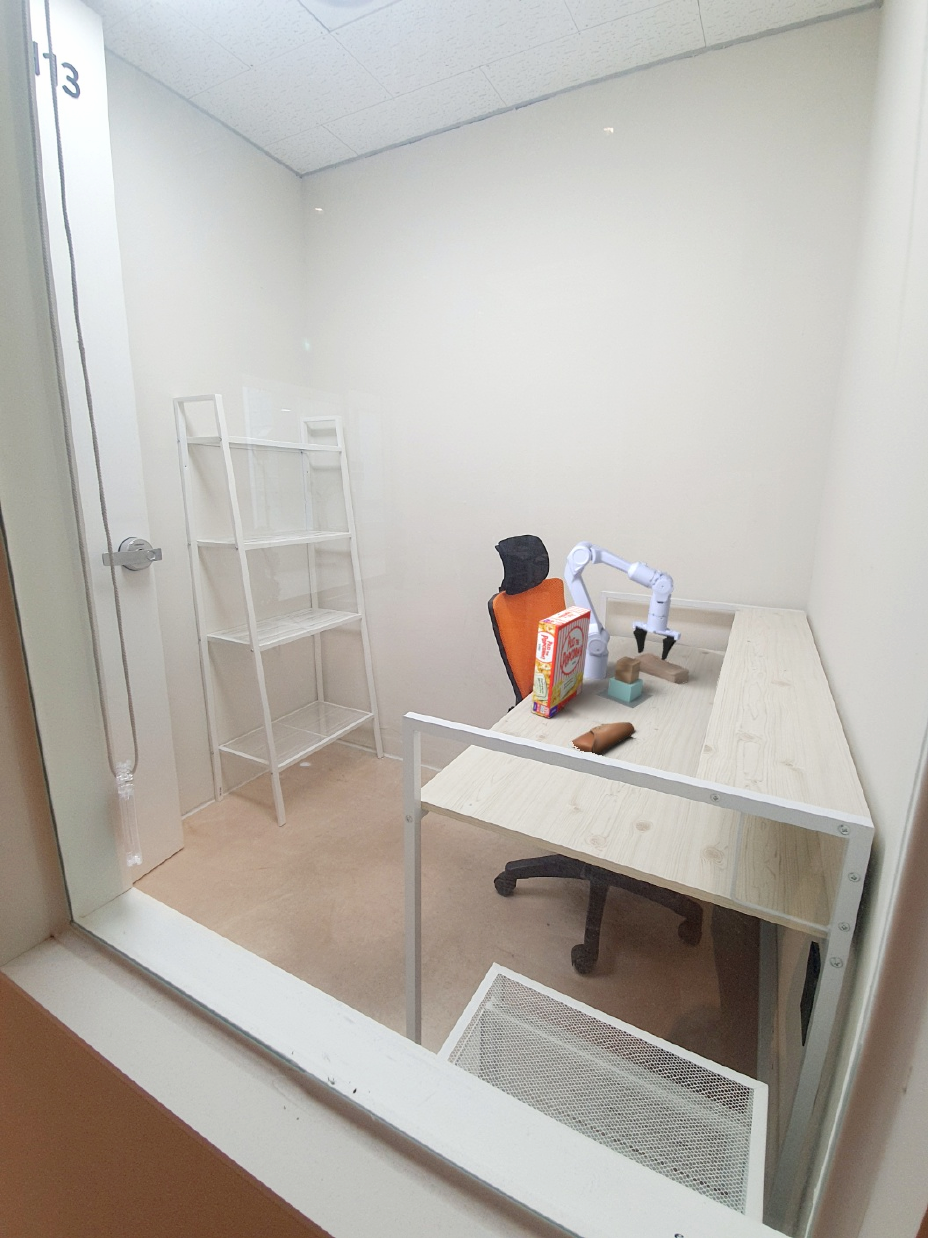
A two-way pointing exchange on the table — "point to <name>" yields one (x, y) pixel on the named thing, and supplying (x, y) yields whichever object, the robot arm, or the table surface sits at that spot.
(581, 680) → the cardboard food box
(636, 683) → the base brick
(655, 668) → the brick
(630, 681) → the walnut block
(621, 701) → the baseplate
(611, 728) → the sunglasses case
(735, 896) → the table surface
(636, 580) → the robot arm
